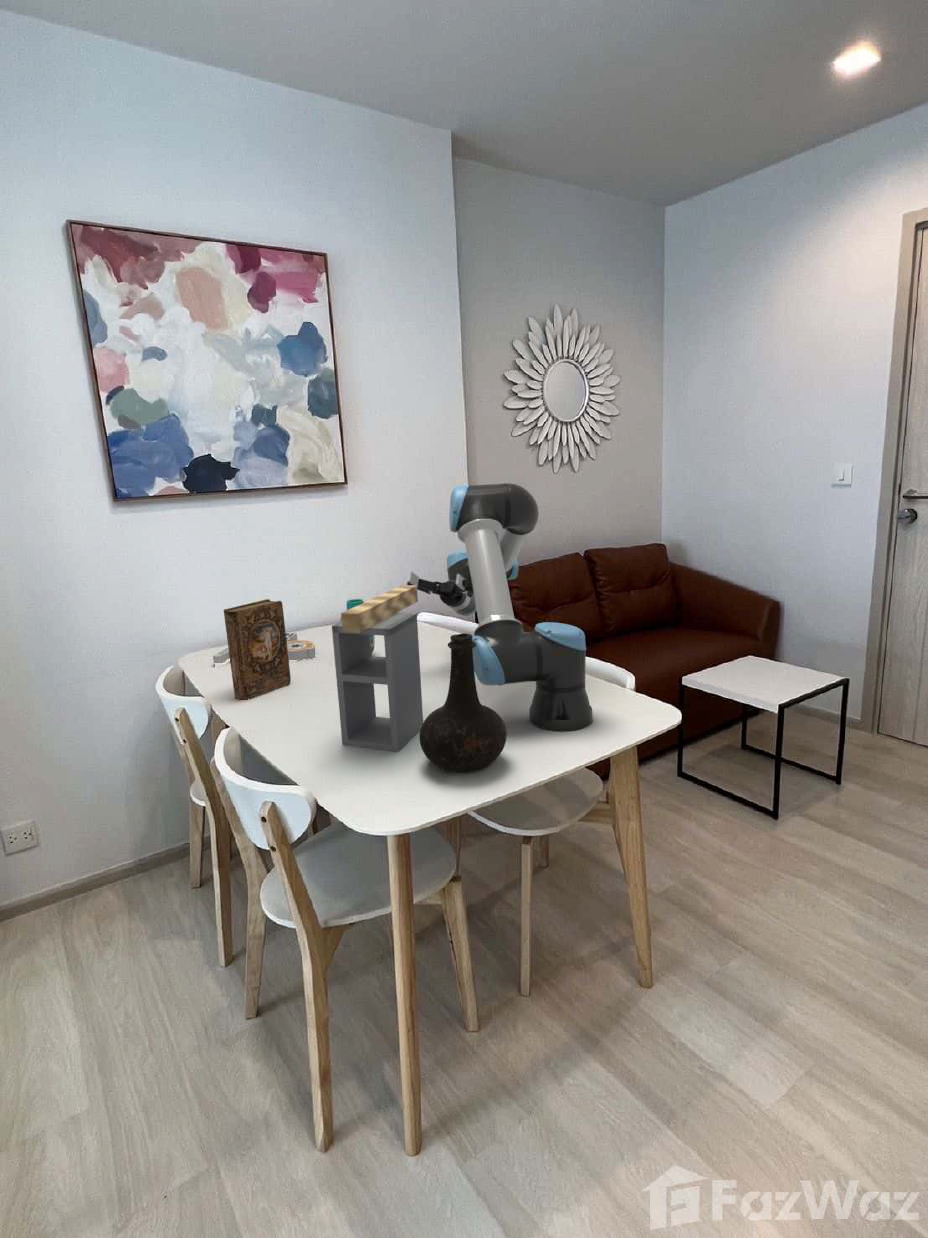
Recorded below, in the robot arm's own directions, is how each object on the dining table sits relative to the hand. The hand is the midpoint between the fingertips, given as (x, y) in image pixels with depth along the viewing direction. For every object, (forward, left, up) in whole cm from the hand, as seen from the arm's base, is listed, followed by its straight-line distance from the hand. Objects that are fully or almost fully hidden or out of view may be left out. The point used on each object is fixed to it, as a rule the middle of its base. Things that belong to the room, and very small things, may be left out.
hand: (433, 577), depth 178 cm
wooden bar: (-15, +25, -3) cm, 29 cm away
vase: (+42, +1, -32) cm, 53 cm away
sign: (+66, +19, -32) cm, 76 cm away
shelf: (-17, +28, -31) cm, 45 cm away
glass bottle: (-41, +23, -32) cm, 57 cm away
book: (+34, +37, -32) cm, 60 cm away
